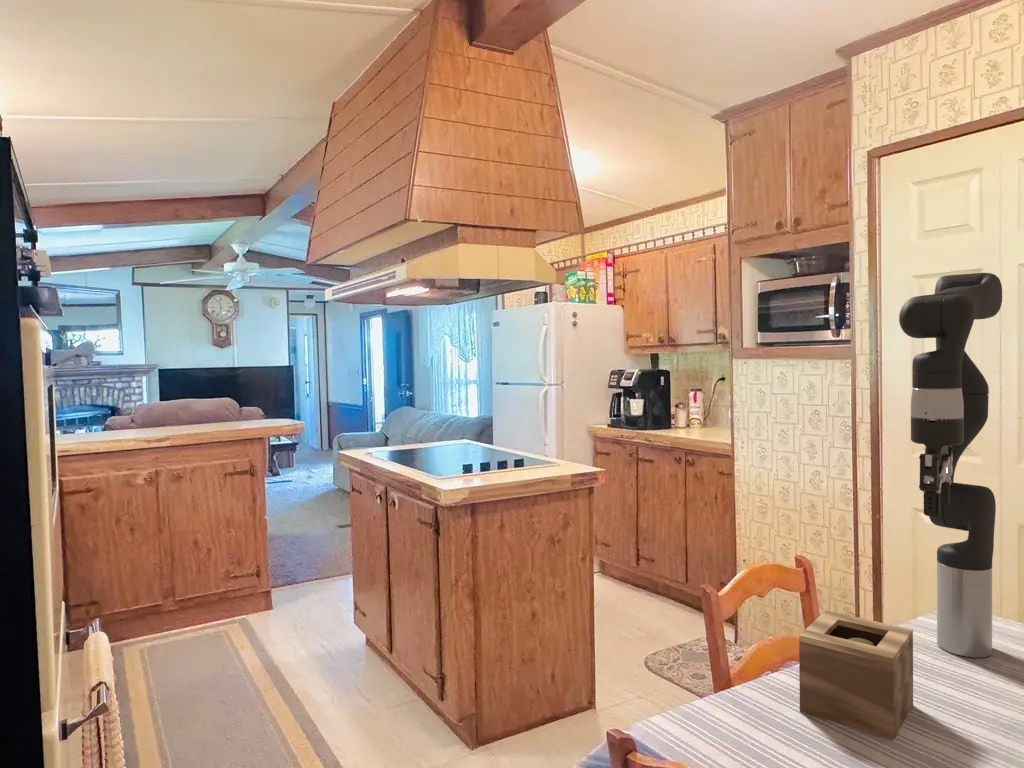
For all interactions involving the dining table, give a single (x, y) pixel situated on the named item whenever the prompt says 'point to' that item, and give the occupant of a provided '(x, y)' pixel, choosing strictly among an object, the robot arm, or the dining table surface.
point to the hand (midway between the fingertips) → (936, 510)
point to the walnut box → (857, 673)
